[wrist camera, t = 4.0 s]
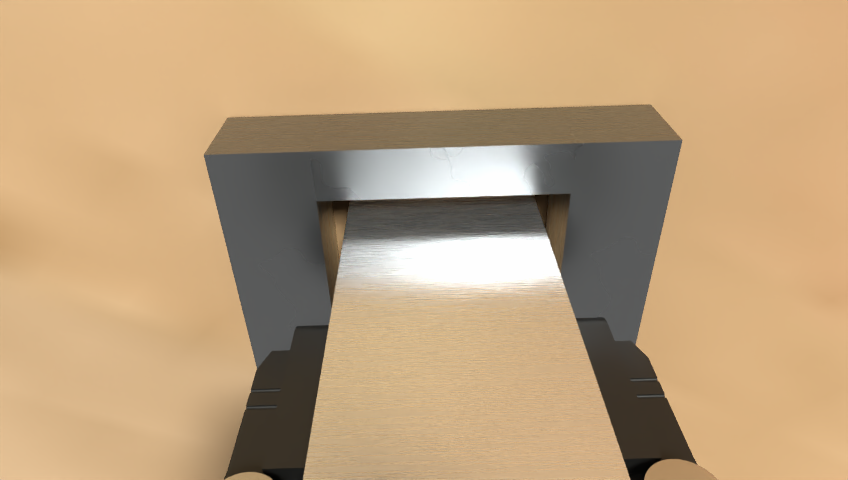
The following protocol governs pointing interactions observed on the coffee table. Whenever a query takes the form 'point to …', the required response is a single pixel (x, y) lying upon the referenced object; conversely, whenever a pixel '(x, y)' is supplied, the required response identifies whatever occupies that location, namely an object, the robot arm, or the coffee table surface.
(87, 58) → the coffee table surface
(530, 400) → the grey metal block
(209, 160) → the grey peg board
